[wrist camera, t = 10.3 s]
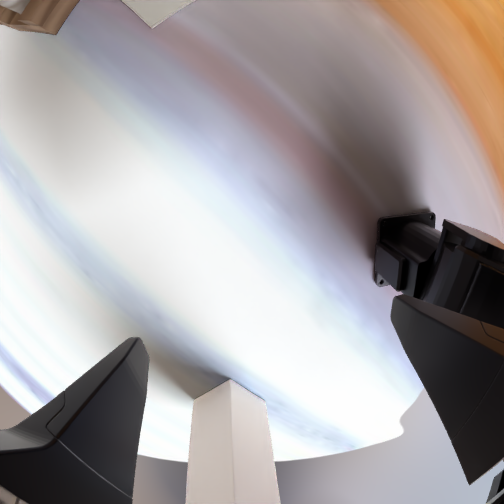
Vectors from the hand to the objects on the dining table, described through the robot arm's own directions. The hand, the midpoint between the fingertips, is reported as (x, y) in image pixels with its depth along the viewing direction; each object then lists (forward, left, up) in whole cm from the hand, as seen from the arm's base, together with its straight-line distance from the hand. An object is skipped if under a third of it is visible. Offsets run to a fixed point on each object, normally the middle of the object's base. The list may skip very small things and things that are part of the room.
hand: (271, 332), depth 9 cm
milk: (+5, +20, -13) cm, 24 cm away
